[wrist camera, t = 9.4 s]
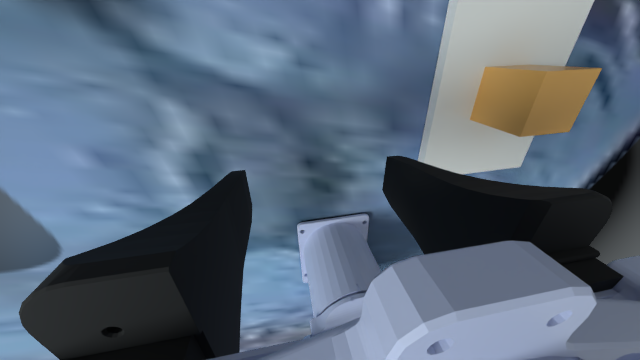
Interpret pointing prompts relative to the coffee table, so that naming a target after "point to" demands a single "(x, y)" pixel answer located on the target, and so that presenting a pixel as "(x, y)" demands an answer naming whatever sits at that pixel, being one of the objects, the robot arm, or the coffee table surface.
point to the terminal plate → (468, 67)
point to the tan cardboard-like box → (532, 98)
